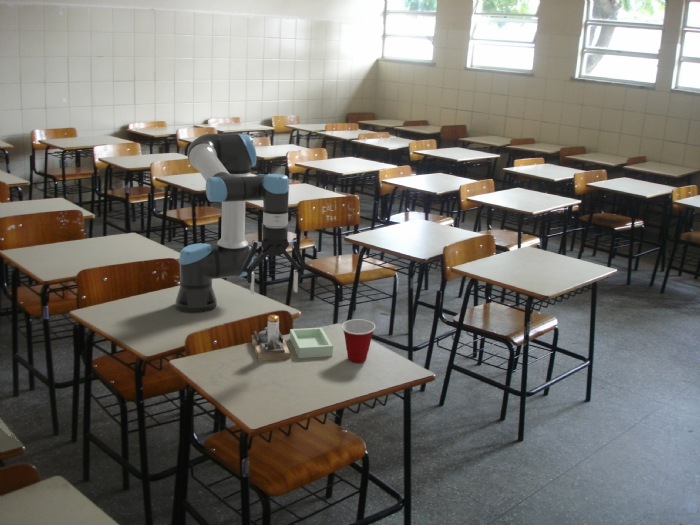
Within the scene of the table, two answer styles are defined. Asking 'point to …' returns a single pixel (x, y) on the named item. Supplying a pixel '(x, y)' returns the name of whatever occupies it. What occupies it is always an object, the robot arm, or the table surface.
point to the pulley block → (264, 354)
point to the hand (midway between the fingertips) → (273, 291)
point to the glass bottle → (272, 332)
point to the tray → (311, 342)
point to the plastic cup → (358, 338)
